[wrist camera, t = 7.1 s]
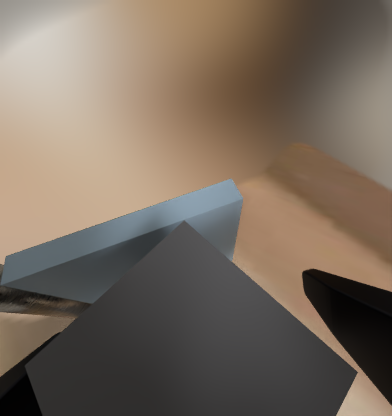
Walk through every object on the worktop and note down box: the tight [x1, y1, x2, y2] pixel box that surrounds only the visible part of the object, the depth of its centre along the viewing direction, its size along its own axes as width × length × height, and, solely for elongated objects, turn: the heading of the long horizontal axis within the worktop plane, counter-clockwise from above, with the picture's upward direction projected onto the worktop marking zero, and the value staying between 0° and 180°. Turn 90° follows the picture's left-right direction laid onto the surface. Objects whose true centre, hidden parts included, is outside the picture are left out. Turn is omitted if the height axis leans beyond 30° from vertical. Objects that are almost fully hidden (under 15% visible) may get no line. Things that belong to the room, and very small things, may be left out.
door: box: [1, 179, 243, 304], centre depth 12 cm, size 10×3×9 cm, turn 109°
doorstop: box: [25, 220, 358, 416], centre depth 9 cm, size 4×4×12 cm
